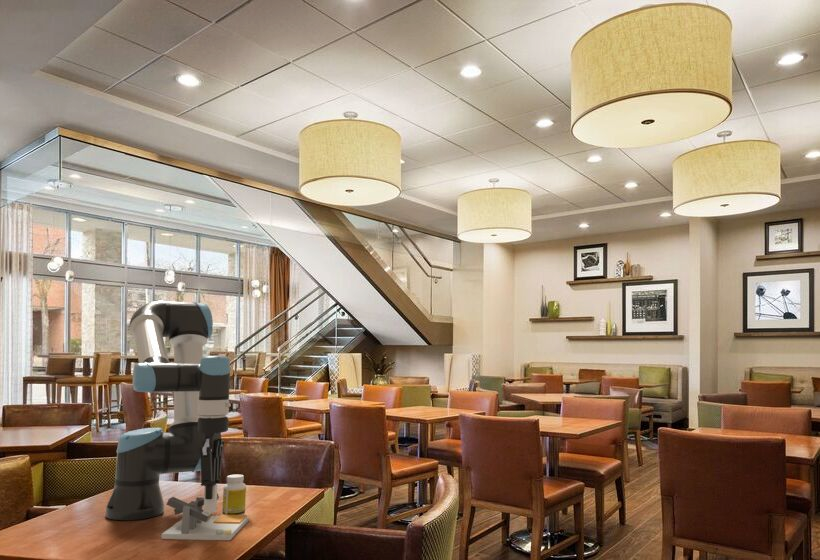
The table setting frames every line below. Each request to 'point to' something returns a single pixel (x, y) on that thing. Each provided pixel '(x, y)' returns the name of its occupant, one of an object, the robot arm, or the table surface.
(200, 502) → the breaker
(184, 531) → the breaker panel
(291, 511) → the table surface
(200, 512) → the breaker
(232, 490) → the pill bottle
